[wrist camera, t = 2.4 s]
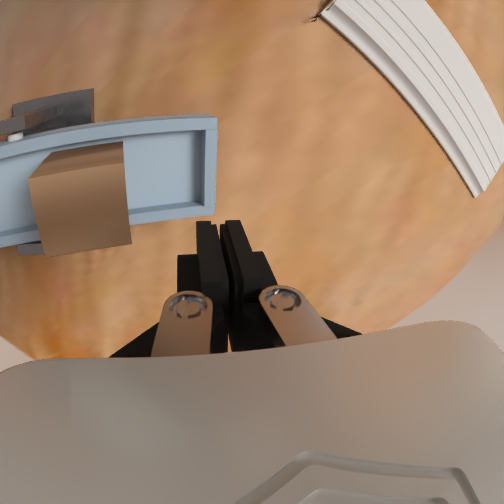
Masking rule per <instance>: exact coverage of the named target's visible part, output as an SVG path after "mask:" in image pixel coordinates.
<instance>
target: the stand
mask: <svg viewBox="0 0 504 504" xmlns="http://www.w3.org/2000/svg"><path fill="white" fill-rule="evenodd" d="M90 123H94V88H93V89H86V90H80V91H74V92H68V93H63V94H57V95H52V96H48V97H43V98H39V99H34V100H30V101H26V102H22V103H18V104H14V105H13V117H11V118H8V119H5V120H2V121H0V135H2V134H6V133H10V132H15V133H18V132H23V136H27V135H31V134H36V133H40V132H45V131H50V130H55V129H60V128H66V127H72V126H77V125H84V124H90ZM16 246H17V250H18V253H19V255H35V254H44V250H43V247H42V243H41V240H38V241H33V242H27V243H22V244H17V245H16Z"/></svg>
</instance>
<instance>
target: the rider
mask: <svg viewBox="0 0 504 504" xmlns="http://www.w3.org/2000/svg"><path fill="white" fill-rule="evenodd" d="M28 184H29V189H30V195H31V200H32V205H33V210H34V214H35V219H36V223H37V227H38V231H39V235H40V239H41V243H42V247H43V250H44V254H45V257H46V258H48V257H53V256H59V255H65V254H71V253H77V252H84V251H90V250H96V249H102V248H109V247H115V246H122V245H128V244H132V240H131V232H130V223H129V213H128V203H127V193H126V181H125V167H124V151H123V141H119V142H111V143H104V144H97V145H90V146H84V147H77V148H72V149H66V150H60V151H55V152H51V153H50V154H49V155H48V157H47V158H46V159H45V160H44V161H43V162H42V163H41V164H40V165H39V167H38V168H37V169H36V170H35V171H34V172H33V173H32V175H31V176H30V177H29V178H28Z"/></svg>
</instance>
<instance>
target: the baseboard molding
mask: <svg viewBox="0 0 504 504" xmlns="http://www.w3.org/2000/svg"><path fill="white" fill-rule="evenodd" d="M319 16H321V17H322V18H324V19H325V20H326V21H327V22H328V23H330V24H331V25H332V26H333V27H334V28H335V29H337V30H338V31H339V32H340V33H341V34H342V35H343V36H344V37H346V38H347V39H348V40H349V41H350V42H351V43H352V44H353V45H354V46H355V47H356V48H357V49H359V50H360V51H361V52H362V53H363V54H364V55H365V56H366V57H367V58H368V59H369V60H370V61H371V62H372V63H373V64H374V65H375V66H376V67H377V68H378V69H379V71H380V72H381V73H382V74H383V75H384V76H385V77H386V78H387V79H388V80H389V81H390V82H391V83H392V85H393V86H394V87H395V88H396V89H397V90H398V91H399V92H400V94H401V95H402V96H403V97H404V98H405V99H406V101H407V102H408V103H409V104H410V105H411V107H412V108H413V109H414V110H415V112H416V113H417V114H418V115H419V117H420V118H421V119H422V120H423V122H424V123H425V124H426V126H427V127H428V128H429V130H430V131H431V132H432V134H433V135H434V136H435V138H436V139H437V140H438V142H439V143H440V145H441V146H442V147H443V149H444V150H445V152H446V153H447V155H448V156H449V158H450V159H451V161H452V162H453V164H454V165H455V167H456V168H457V170H458V171H459V173H460V175H461V176H462V178H463V179H464V181H465V183H466V184H467V186H468V188H469V189H470V191H471V193H472V195H473V196H474V198H476V197H477V196H478V195H479V194H480V193H482V192H484V191H485V190H486V188H487V186H488V184H489V183H490V182H491V181H492V178H493V177H494V175H495V173H497V171H498V169H499V167H500V165H502V163H503V161H504V126H503V123H502V121H501V119H500V117H499V115H498V113H497V111H496V109H495V107H494V105H493V103H492V101H491V99H490V97H489V95H488V93H487V91H486V89H485V88H484V86H483V84H482V82H481V80H480V79H479V77H478V75H477V73H476V72H475V70H474V68H473V67H472V65H471V64H470V62H469V60H468V59H467V57H466V56H465V54H464V53H463V51H462V49H461V48H460V46H459V45H458V44H457V42H456V41H455V39H454V38H453V36H452V35H451V34H450V32H449V31H448V29H447V28H446V27H445V25H444V24H443V23H442V21H441V20H440V19H439V17H438V16H437V15H436V14H435V12H434V11H433V10H432V9H431V7H430V6H429V5H428V4H427V3H426V1H425V0H331V1H330V2H329V4H328V5H327V6H326V7H325V8H324V9H323V10H322V11H321V12H320V13H319V15H317V16H316V17H315V18H316V20H317V17H319ZM316 20H313V21H314V22H315V21H316ZM313 21H312V22H313Z"/></svg>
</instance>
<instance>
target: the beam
mask: <svg viewBox="0 0 504 504" xmlns="http://www.w3.org/2000/svg"><path fill="white" fill-rule="evenodd" d="M217 137H218V130H217V117H215V116H212V115H209V114H183V115H165V116H151V117H140V118H130V119H120V120H112V121H104V122H97V123H90V124H84V125H77V126H72V127H66V128H60V129H55V130H50V131H45V132H40V133H36V134H31V135H27V136H23V132H18V133H14V134H11V135H8V140H7V141H3V142H0V248H2V247H7V246H12V245H17V244H22V243H27V242H33V241H38V240H41V239H40V235H39V231H38V227H37V223H36V219H35V214H34V210H33V205H32V200H31V195H30V189H29V184H28V178H29V177H30V176H31V175H32V173H33V172H34V171H35V170H36V169H37V168H38V167H39V165H40V164H41V163H42V162H43V161H44V160H45V159H46V158H47V157H48V155H49V154H50V153H51V152H55V151H60V150H66V149H72V148H77V147H84V146H90V145H97V144H104V143H111V142H119V141H123V151H124V167H125V181H126V193H127V203H128V213H129V223H130V225H137V224H144V223H151V222H159V221H166V220H174V219H181V218H189V217H197V216H206V215H214V210H215V201H216V164H217Z"/></svg>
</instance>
